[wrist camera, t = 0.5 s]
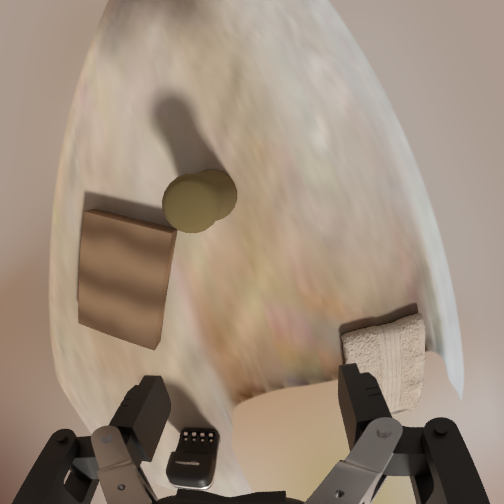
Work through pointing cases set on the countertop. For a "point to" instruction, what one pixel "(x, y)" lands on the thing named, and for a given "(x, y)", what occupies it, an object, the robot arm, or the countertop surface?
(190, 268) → the countertop surface
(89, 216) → the walnut board
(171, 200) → the cork
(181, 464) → the battery charger
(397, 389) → the washcloth
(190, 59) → the countertop surface
